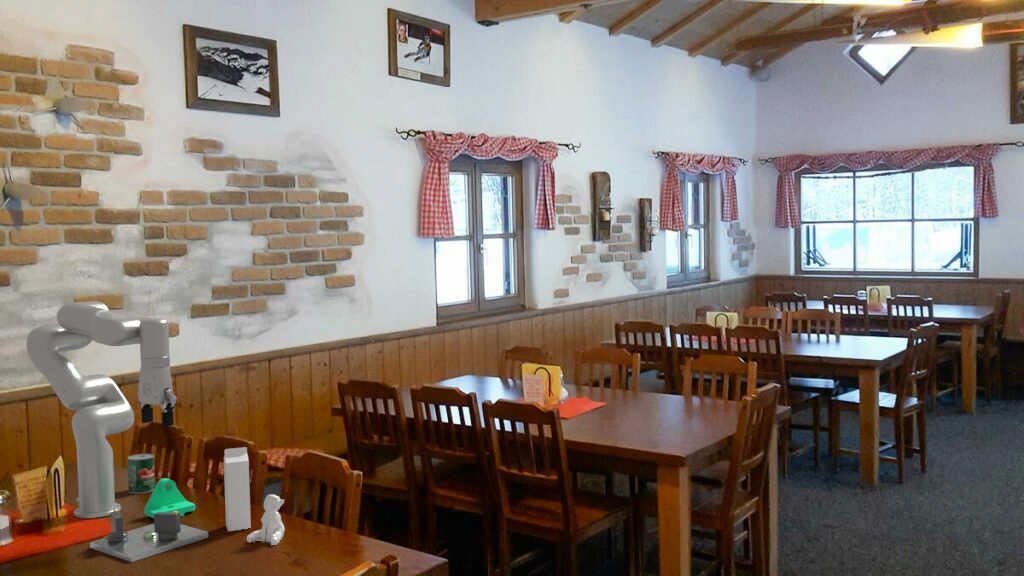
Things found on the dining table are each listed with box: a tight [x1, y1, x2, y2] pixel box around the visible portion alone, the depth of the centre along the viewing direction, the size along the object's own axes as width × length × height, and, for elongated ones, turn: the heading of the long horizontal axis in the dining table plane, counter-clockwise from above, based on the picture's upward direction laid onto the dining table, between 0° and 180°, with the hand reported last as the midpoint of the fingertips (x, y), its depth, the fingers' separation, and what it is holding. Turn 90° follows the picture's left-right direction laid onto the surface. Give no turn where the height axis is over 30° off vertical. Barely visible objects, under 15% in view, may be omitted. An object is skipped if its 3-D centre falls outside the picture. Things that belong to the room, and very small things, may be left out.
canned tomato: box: [127, 453, 156, 495], centre depth 286 cm, size 8×8×11 cm
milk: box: [223, 446, 252, 532], centre depth 246 cm, size 6×6×22 cm
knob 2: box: [153, 511, 181, 541], centre depth 233 cm, size 5×6×7 cm
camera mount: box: [143, 477, 196, 519], centre depth 259 cm, size 12×8×10 cm, turn 136°
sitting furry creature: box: [246, 494, 286, 546], centre depth 235 cm, size 10×9×12 cm
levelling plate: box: [89, 523, 209, 563], centre depth 234 cm, size 19×22×2 cm
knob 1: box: [107, 510, 128, 543], centre depth 232 cm, size 5×6×7 cm
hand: (157, 424), depth 249 cm, fingers open, 9 cm apart
